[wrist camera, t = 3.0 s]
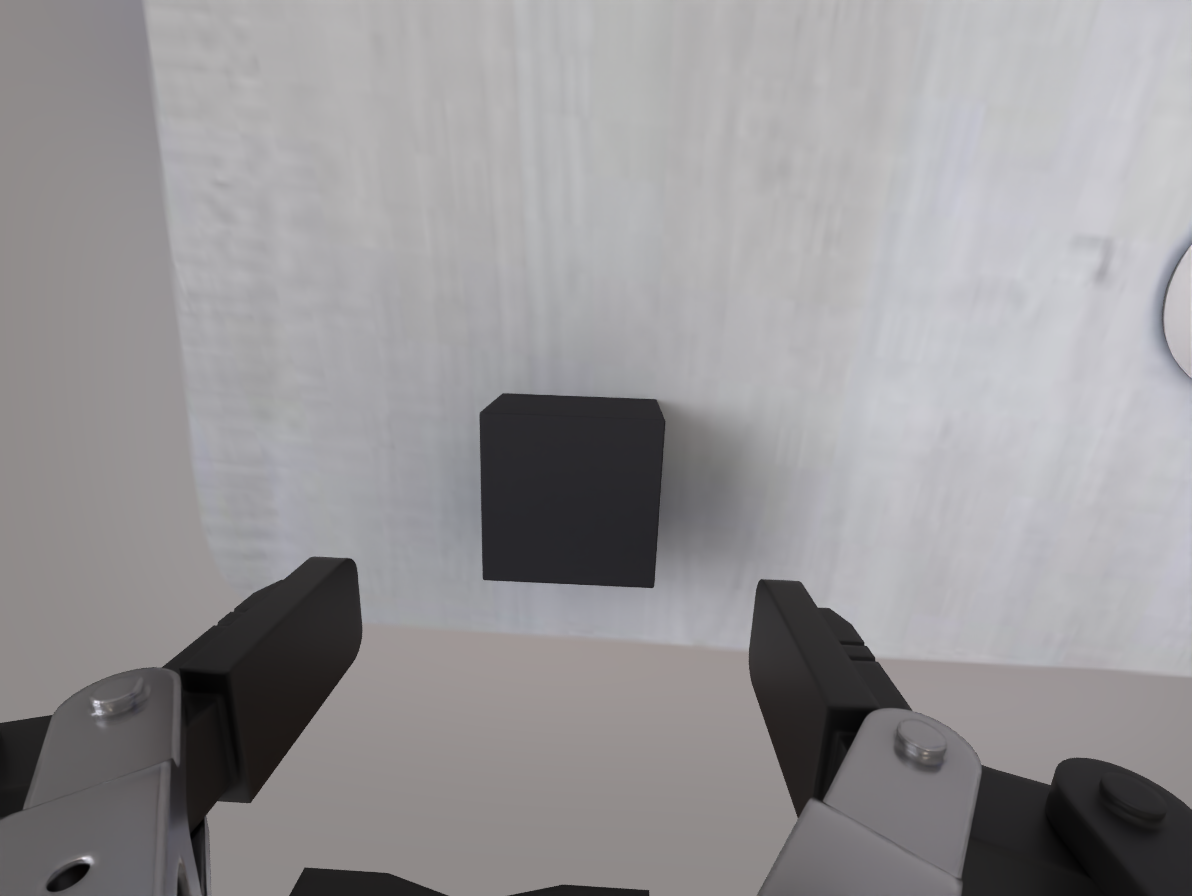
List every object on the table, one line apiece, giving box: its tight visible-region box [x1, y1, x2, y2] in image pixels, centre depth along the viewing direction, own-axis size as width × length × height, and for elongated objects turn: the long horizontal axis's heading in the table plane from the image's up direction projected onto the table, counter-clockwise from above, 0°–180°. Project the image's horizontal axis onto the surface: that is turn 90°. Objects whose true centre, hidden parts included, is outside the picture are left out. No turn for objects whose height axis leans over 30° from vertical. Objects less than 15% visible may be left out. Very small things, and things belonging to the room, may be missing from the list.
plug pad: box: [480, 393, 665, 588], centre depth 19 cm, size 6×6×4 cm
